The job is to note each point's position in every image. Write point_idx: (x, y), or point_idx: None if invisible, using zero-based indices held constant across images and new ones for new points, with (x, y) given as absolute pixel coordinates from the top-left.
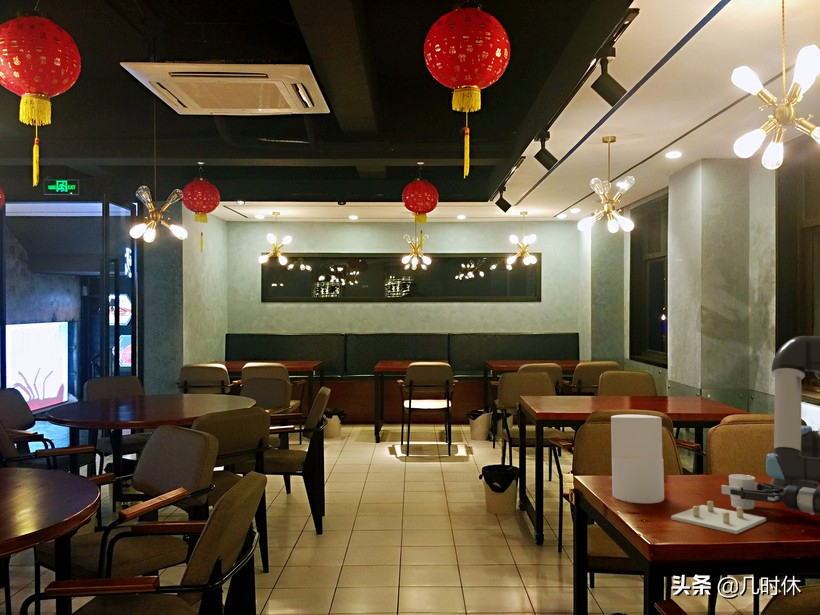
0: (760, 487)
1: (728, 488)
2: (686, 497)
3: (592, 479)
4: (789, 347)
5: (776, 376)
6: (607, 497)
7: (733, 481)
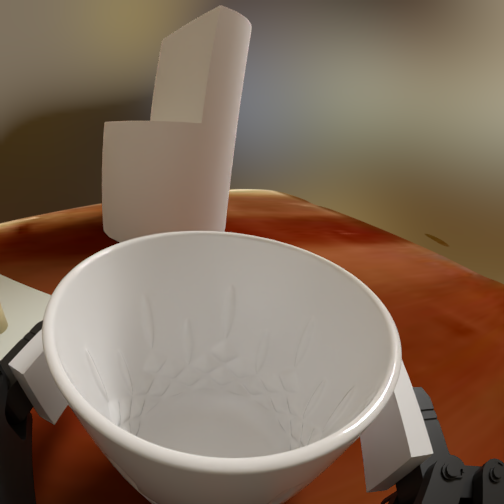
0: (414, 500)
1: None
2: None
3: (261, 194)
4: None
5: None
6: None
7: (110, 283)
